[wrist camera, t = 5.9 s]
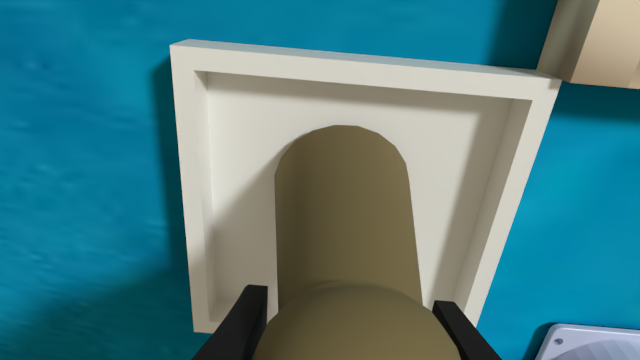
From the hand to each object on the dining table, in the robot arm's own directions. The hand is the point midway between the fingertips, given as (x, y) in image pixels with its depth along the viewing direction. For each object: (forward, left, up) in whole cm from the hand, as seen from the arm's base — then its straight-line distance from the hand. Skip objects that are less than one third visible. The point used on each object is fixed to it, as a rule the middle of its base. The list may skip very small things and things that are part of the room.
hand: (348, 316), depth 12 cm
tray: (0, 0, -7) cm, 7 cm away
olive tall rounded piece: (+1, 0, -7) cm, 7 cm away
